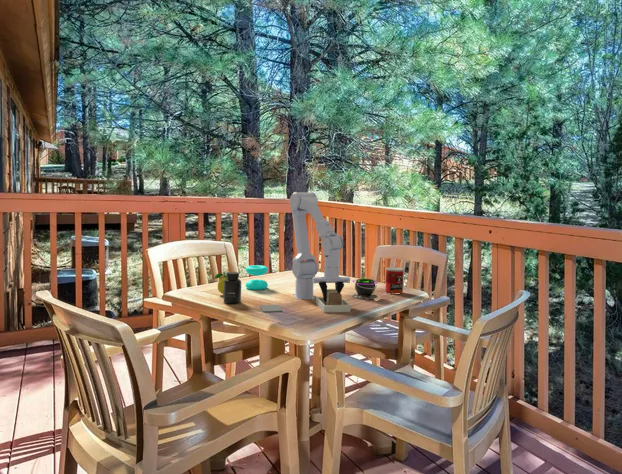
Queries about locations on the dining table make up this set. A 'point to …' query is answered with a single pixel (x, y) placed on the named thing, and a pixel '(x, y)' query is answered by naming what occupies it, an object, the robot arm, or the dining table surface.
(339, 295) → the walnut block
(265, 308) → the rubber mat
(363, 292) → the toy cauldron
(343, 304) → the parts bin
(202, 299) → the dining table surface
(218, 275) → the pear
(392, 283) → the canned food
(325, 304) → the birch block
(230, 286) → the supplement bottle
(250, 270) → the donuts
